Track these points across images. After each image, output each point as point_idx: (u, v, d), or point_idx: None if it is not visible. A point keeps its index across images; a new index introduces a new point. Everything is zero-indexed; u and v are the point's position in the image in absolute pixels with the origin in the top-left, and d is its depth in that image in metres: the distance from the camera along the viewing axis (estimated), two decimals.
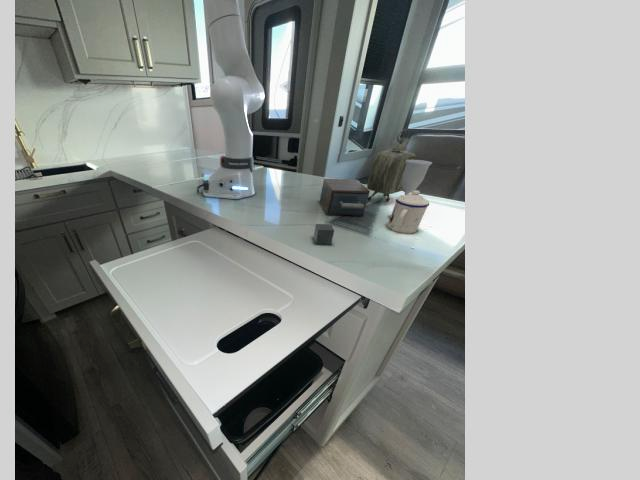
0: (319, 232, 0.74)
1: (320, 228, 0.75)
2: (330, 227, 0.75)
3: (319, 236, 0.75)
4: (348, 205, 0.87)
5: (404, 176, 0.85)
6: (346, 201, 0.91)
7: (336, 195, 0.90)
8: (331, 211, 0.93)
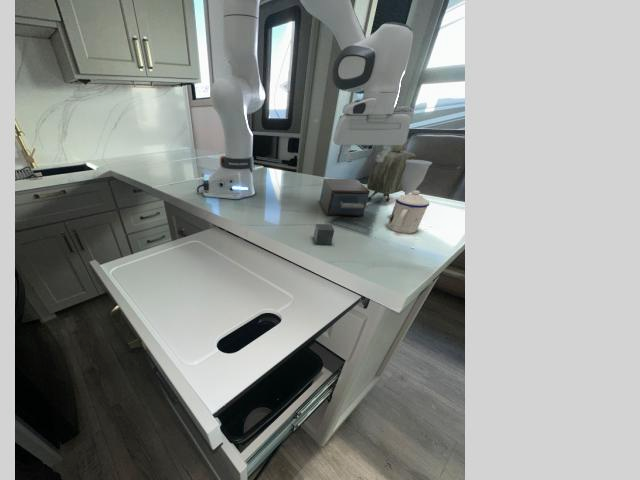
0: (319, 232, 0.74)
1: (320, 228, 0.75)
2: (330, 227, 0.75)
3: (319, 236, 0.75)
4: (348, 205, 0.87)
5: (404, 176, 0.85)
6: (346, 201, 0.91)
7: (336, 195, 0.90)
8: (331, 211, 0.93)
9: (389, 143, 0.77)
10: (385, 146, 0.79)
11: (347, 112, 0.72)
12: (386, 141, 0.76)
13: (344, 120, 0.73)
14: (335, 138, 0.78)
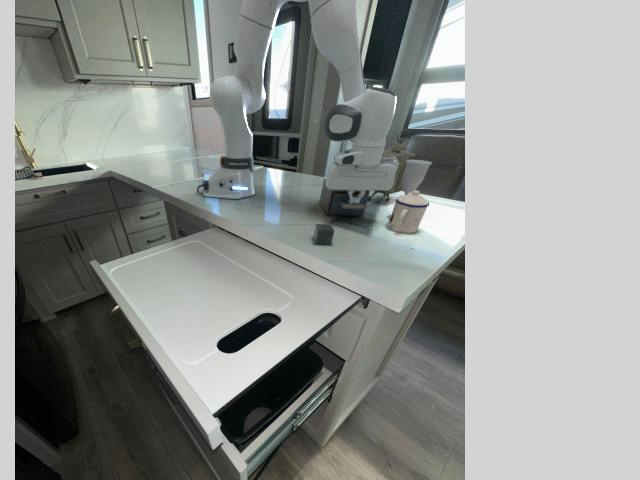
0: (319, 232, 0.74)
1: (320, 228, 0.75)
2: (330, 227, 0.75)
3: (319, 236, 0.75)
4: (349, 206, 0.87)
5: (404, 176, 0.85)
6: (347, 202, 0.90)
7: (337, 196, 0.89)
8: (331, 212, 0.93)
9: (377, 189, 0.83)
10: (360, 190, 0.85)
11: (337, 162, 0.79)
12: (374, 187, 0.83)
13: (334, 169, 0.80)
14: (327, 183, 0.84)
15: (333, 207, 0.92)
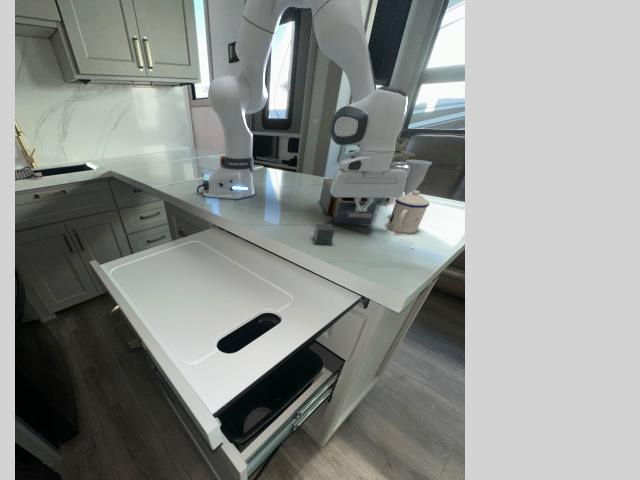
0: (319, 232, 0.74)
1: (320, 228, 0.75)
2: (330, 227, 0.75)
3: (319, 236, 0.75)
4: (356, 214, 0.80)
5: None
6: (353, 210, 0.84)
7: (342, 203, 0.83)
8: (336, 220, 0.87)
9: (386, 196, 0.77)
10: (368, 198, 0.79)
11: (343, 168, 0.73)
12: (383, 194, 0.76)
13: (340, 175, 0.74)
14: (331, 190, 0.78)
15: (338, 215, 0.86)
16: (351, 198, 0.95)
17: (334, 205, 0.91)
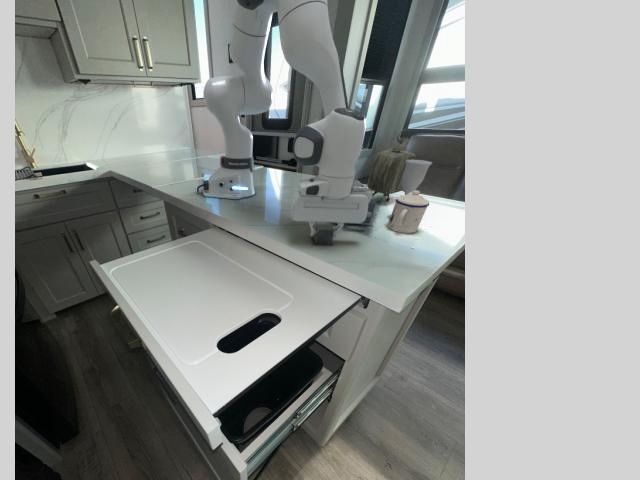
0: (319, 232, 0.74)
1: (320, 228, 0.75)
2: (330, 227, 0.75)
3: (319, 236, 0.75)
4: None
5: (404, 176, 0.85)
6: None
7: None
8: None
9: (348, 221, 0.72)
10: (338, 222, 0.74)
11: (300, 192, 0.68)
12: (344, 219, 0.72)
13: (298, 199, 0.69)
14: (291, 214, 0.73)
15: None
16: None
17: None
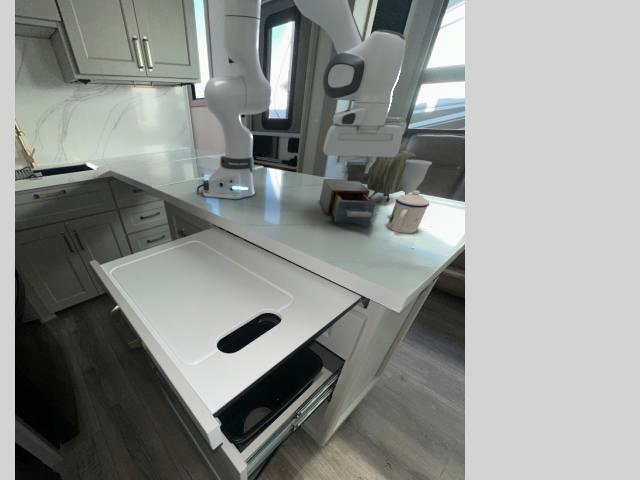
0: (351, 167, 0.76)
1: (352, 163, 0.76)
2: (362, 163, 0.76)
3: (351, 172, 0.76)
4: (355, 213, 0.81)
5: (404, 176, 0.85)
6: (352, 209, 0.85)
7: (342, 203, 0.84)
8: (336, 219, 0.87)
9: (380, 155, 0.74)
10: (370, 157, 0.75)
11: (336, 122, 0.69)
12: (377, 153, 0.73)
13: (333, 130, 0.70)
14: (324, 148, 0.75)
15: (338, 214, 0.86)
16: (350, 197, 0.96)
17: (334, 204, 0.92)
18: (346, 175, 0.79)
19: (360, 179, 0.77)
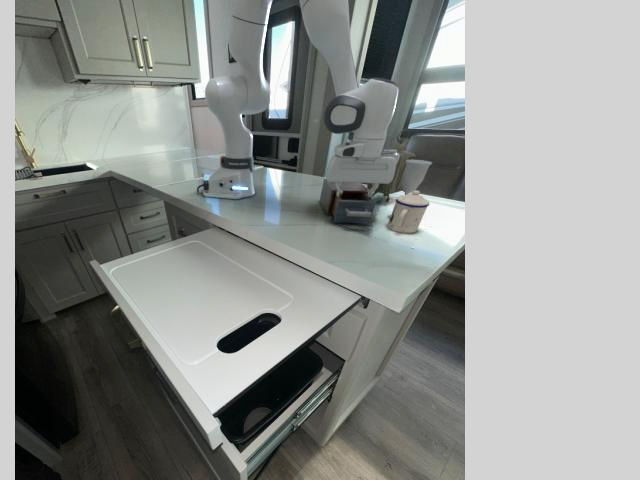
0: None
1: None
2: None
3: None
4: (355, 213, 0.81)
5: (404, 176, 0.85)
6: (352, 209, 0.85)
7: (341, 202, 0.84)
8: (336, 219, 0.87)
9: (377, 181, 0.83)
10: (373, 183, 0.84)
11: (338, 154, 0.78)
12: (374, 180, 0.82)
13: (335, 161, 0.79)
14: (327, 175, 0.83)
15: (337, 214, 0.86)
16: (350, 197, 0.96)
17: (333, 204, 0.92)
18: None
19: None
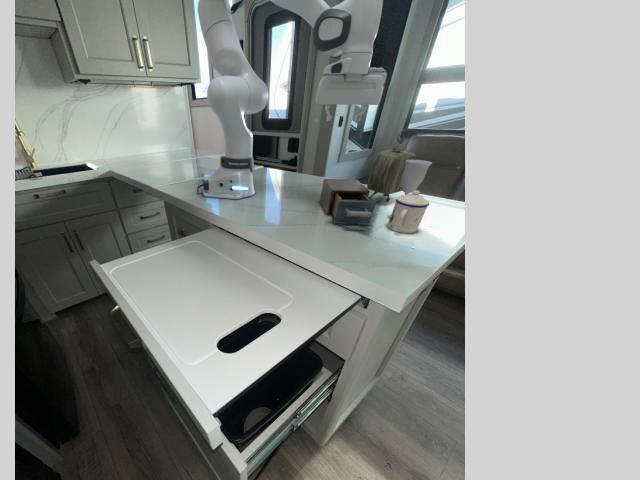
0: None
1: None
2: None
3: None
4: (355, 213, 0.81)
5: (404, 176, 0.85)
6: (352, 209, 0.85)
7: (341, 202, 0.84)
8: (336, 219, 0.87)
9: (365, 102, 0.85)
10: (362, 106, 0.87)
11: (326, 72, 0.80)
12: (362, 100, 0.84)
13: (323, 79, 0.82)
14: (316, 98, 0.86)
15: (337, 214, 0.86)
16: (350, 197, 0.96)
17: (333, 204, 0.92)
18: None
19: None
